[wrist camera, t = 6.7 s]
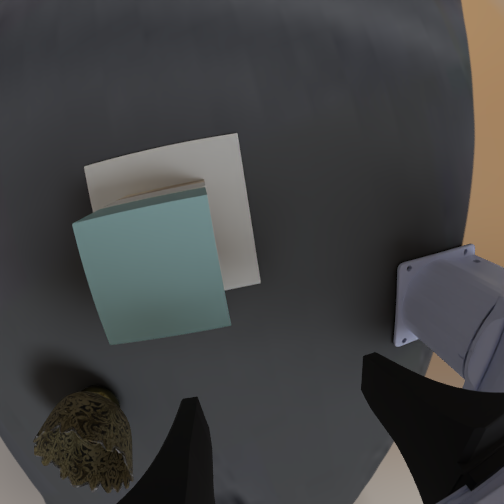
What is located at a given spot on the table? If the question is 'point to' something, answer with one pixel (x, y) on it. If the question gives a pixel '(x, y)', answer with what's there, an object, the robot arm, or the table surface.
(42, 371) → the table surface
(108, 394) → the olive lace dome
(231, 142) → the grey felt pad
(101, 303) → the teal block
